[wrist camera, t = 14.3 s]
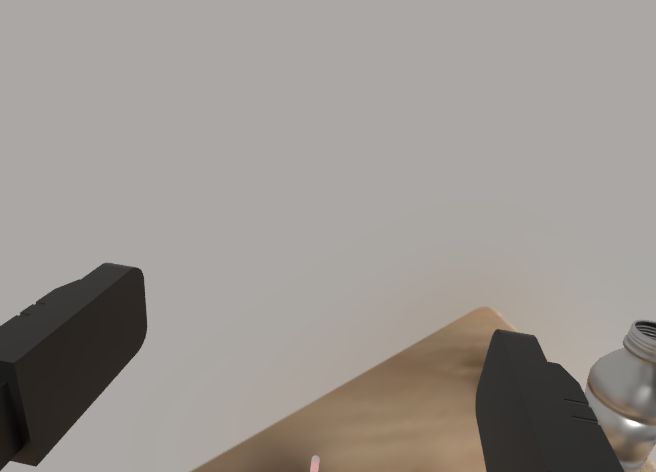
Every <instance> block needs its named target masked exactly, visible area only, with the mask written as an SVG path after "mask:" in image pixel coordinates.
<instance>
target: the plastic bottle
mask: <svg viewBox="0 0 656 472" xmlns="http://www.w3.org/2000/svg"><path fill="white" fill-rule="evenodd" d="M623 345H624V348H622V349H619V350H617V351H614V352H612V353H609V354H607V355H605V356H603V357H602V358H600V359H599V360H598V361H597V362H596V363H595V364H594V365H593V366H592V368H591V369H590V373H589V376H588V379H587V385H586V390H585V396H586V398H587V400H588V402H589V407H591V408H592V410H593V412H594V413H595V415H596V417H597V419H598V425H601V427H602V429H603V431H604V433H605V435H606V437H607V439H608V440H609V442H610V444H611V446H612V448H613V450H614V452H615V454H616V456H617V458H618V460H619V462H620V464H621V466H622V468H623V469H624V471H625V472H640V471H641V468H642V466H643V464H644V462H645V461H646V459H647V457H648V456H649V454H650V452H651V451H652V449H653V447H654V445H655V444H656V322H654V321H649V320H637V321H635V322H634V323H633V324H632V326H631V328H630V330H629V332H628V334H627V335H626V336H625V338H624V340H623Z"/></svg>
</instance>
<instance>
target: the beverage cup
mask: <svg viewBox="0 0 656 472" xmlns="http://www.w3.org/2000/svg"><path fill="white" fill-rule="evenodd" d="M319 461H320V458H319V457H318V456H316V455H315V456H313V457H312V461H311V469H310V472H318V468H319Z"/></svg>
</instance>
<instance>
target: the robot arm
mask: <svg viewBox="0 0 656 472" xmlns="http://www.w3.org/2000/svg"><path fill="white" fill-rule="evenodd" d="M146 331H147V316H146V303H145V287H144V276H143V273H142V271H141V270H140V269H139V268H136V267H130V266H124V265H118V264H112V263H104V264H102V265H101V266H99V267H98V268H96V269H95V270H93V271H92V272H91V273H89V274H88V275H86V276H85V277H84V278H82V279H81V280H77V281H74V282H72V283H69V284H67V285H64V286H61V287H59V288H56V289H54V290H53V291H52V292H50V293H48V294H47V295H46V296H44V297H42V298H41V299H39V300H38V301H37V302H36V304H35V305H33V304H32V305H31V306H29V307H28V308H26V309H25V310H23V311H22V312H21V313H20V316H17V315H16V316H15V317H13V318H12V319H10V320H9V321H7V322H6V323H4V324H3V325H2V326H0V471H1V469H2V468H3V467H4V466H5V465H6V464H7V463H8V462H9V461H14V462H18V463H23V464H27V465H32V466H37V465H38V464H39V463H40V462H41V461H42V460H43V458H44V457H45V456H46V455H47V454H48V453H49V452H50V450H51V449H52V448H53V447H54V446H55V445H56V444H57V443H58V441H59V440H60V439H61V438H62V437H63V436H64V435H65V434H66V432H67V431H68V430H69V429H70V428H71V427H72V426H73V425H74V423H75V422H76V421H77V420H78V419H79V418H80V417H81V416H82V414H83V413H84V412H85V411H86V410H87V409H88V408H89V406H90V405H91V404H92V403H93V402H94V401H95V400H96V399H97V398H98V396H99V395H100V394H101V393H102V392H103V391H104V390H105V388H106V387H107V386H108V385H109V384H110V383H111V381H113V379H114V378H115V377H116V376H117V375H118V374H119V373H120V372H121V370H122V369H123V368H124V367H125V366H126V365H127V364H128V363H129V361H130V360H131V359H132V358H133V357H134V356H135V355H136V353H137V352H138V351H139V350H140V348H141V346H142V344H143V342H144V339H145V336H146ZM476 418H477V423H478V428H479V434H480V439H481V444H482V449H483V454H484V460H485V465H486V470H487V472H625V471H624V469H623V468H622V466H621V464H620V462H619V460H618V458H617V456H616V454H615V452H614V450H613V448H612V446H611V444H610V442H609V440H608V439H607V437H606V435H605V433H604V431H603V429H602V427H601V425H598V419H597V417H596V415H595V413H594V412H593V410H592V408H591V407H589V402H588V400H587V398H586V396H585V394H584V392H583V390H582V389H581V386H580V384H579V383H578V382H577V381H576V380H575V379H574V378H573V377H572V376H571V375H570V374H569V373H568V372H567V371H566V370H565V369H564V368H563V367H562V366H561V365H560V364H557V363H551V362H547V360H546V358H545V356H544V354H543V351H542V349H541V347H540V345H539V343H538V341H537V339H536V337H535V336H534V335H529V334H523V333H517V332H511V331H505V330H499V329H497V330H496V331H495V332H494V334H493V336H492V339H491V342H490V346H489V349H488V353H487V356H486V360H485V363H484V367H483V370H482V374H481V377H480V381H479V384H478V388H477V394H476Z"/></svg>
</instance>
